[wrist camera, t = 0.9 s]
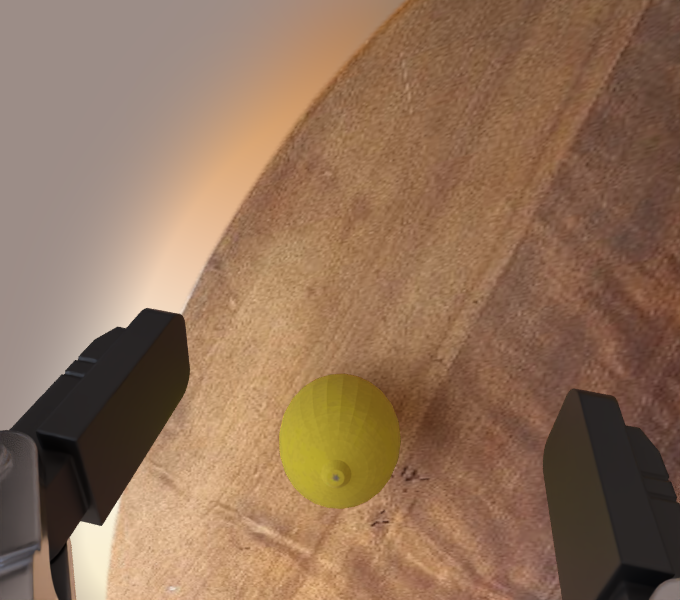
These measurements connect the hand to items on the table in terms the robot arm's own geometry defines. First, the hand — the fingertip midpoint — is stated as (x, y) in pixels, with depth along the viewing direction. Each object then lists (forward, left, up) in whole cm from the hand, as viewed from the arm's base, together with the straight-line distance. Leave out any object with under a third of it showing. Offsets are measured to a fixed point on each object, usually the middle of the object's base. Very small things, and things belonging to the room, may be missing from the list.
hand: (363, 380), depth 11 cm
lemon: (+6, -3, -17) cm, 18 cm away
